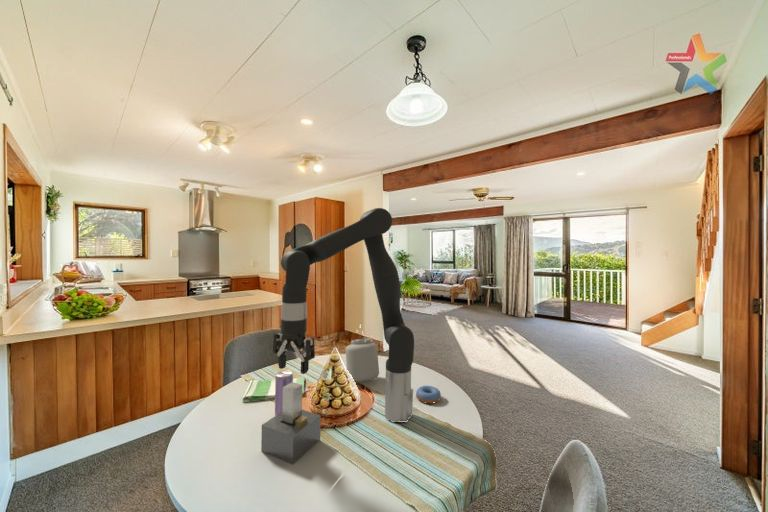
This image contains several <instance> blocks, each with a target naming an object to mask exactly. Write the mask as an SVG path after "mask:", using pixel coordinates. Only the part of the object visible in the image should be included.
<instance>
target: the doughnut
mask: <svg viewBox="0 0 768 512" xmlns="http://www.w3.org/2000/svg"><path fill="white" fill-rule="evenodd" d="M441 395H442V394H441V391H440V390H439V389H438V388H437V387H435V386H431V385H421V386H419V387H418V388H417V389H416V393H415V397H416V398H418V399H419V400H420V402H421V401H422V402H421V403H423V402H426V403H425V404H428V403H432V404H434V403H433V402H436V403H437V401H438V402H440V400H441ZM418 399H417V400H418ZM419 400H418V401H419Z"/></svg>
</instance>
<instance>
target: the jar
mask: <svg viewBox="0 0 768 512" xmlns="http://www.w3.org/2000/svg"><path fill="white" fill-rule="evenodd" d="M361 326H362V324H360V325H359V328H360V329H361ZM356 332H358V330H357V329H356ZM361 332H362V333H361V334H362V335H364V333H363V332H364V331H361ZM350 343H351V344H348V345H347V346H346V348H345V358H346V360H345V361H346V371H347V370H348V371H349V373H350V374H351V375H352V377H353V379H354V380H355V381H356V383H359V382H361V383H362V382H368V381H372V380H375V379H377V378H378V377H379V375H380V367H379V354H378V346H377V343H375V342H373V341H371V338H359V339H352V340H350ZM355 381H354V382H355Z"/></svg>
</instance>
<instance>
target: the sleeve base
mask: <svg viewBox="0 0 768 512" xmlns="http://www.w3.org/2000/svg"><path fill="white" fill-rule="evenodd" d="M321 417H322V416H321V414H317V413H314V412H311V411H308V410H304V409H302V416H301V417H299V418H298V419H297V420H295V425H294V426H290V425H287V424H284V423H282V412H281V413H280V414H278V415H277V416H275V415H274V416H273V417H272V418H271V419H268V420H267V421H266V422H264V423H262V424H261V444H260V445H261V447H260V449H261V450H260V451H261V452H262V453H264V454H266V455H268V456H271V457H274V458H277V459H279V460H280V461H283V462H285V463H289V464H290V465H292V466H293V465H294V464H295V463H296V462H298V461H299V460H300V459H301V458H302V457H304V455H306V453H308V452H309V451H310V450H312V449H313V448H314V447H315V445H316V444H318V443H319V442H321V421H322V420H321Z"/></svg>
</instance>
